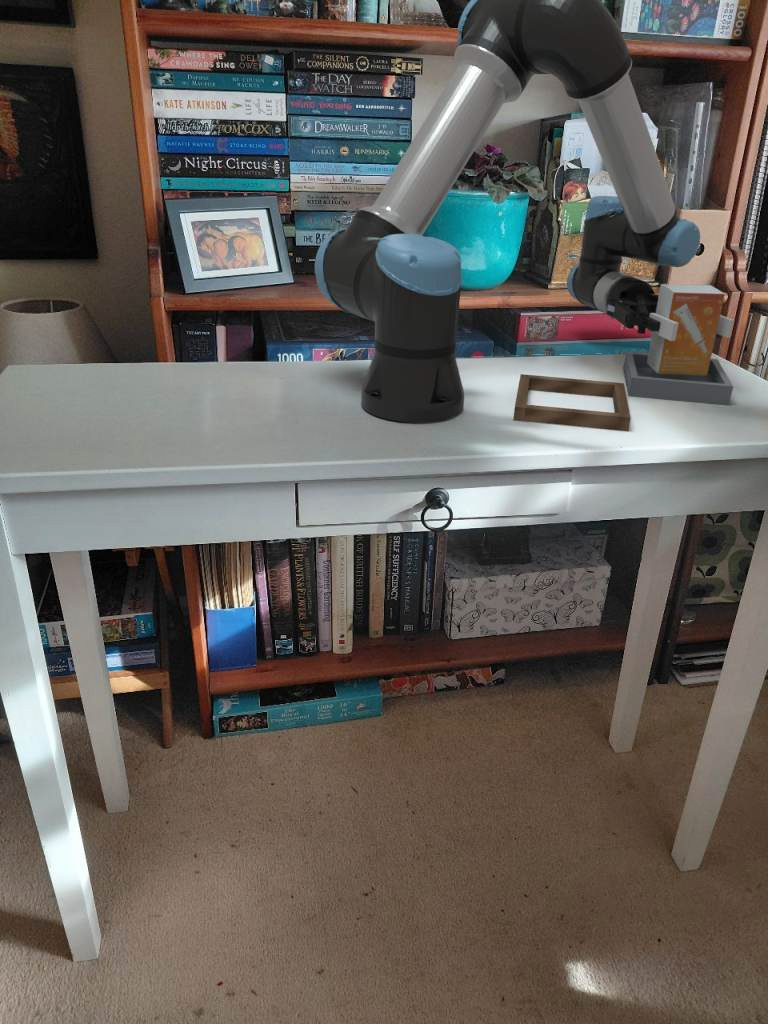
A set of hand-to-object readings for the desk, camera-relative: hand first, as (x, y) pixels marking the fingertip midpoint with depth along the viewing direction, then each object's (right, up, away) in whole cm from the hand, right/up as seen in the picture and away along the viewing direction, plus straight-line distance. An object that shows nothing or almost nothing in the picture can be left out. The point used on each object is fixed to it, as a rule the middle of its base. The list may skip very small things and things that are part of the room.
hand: (702, 330), depth 126 cm
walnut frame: (-21, -12, -2) cm, 24 cm away
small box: (-1, -5, +7) cm, 9 cm away
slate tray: (-2, -7, +8) cm, 11 cm away
